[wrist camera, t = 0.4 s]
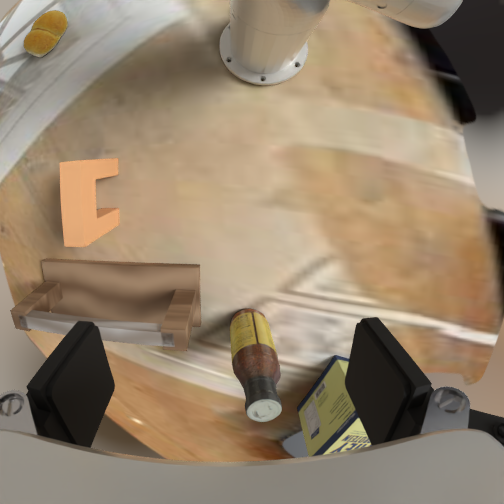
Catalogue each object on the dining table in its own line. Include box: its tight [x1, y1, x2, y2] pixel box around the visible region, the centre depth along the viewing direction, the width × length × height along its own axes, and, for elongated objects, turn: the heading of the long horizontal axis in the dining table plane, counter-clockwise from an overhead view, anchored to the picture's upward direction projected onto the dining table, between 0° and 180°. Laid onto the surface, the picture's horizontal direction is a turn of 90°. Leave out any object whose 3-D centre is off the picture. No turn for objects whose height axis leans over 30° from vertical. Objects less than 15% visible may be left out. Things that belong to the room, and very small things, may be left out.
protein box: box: [297, 355, 372, 457], centre depth 48 cm, size 10×16×16 cm
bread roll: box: [24, 10, 68, 57], centre depth 30 cm, size 8×9×4 cm
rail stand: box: [10, 259, 201, 351], centre depth 40 cm, size 10×28×13 cm, turn 87°
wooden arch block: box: [60, 158, 119, 247], centre depth 35 cm, size 10×3×12 cm, turn 177°
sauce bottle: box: [230, 309, 282, 422], centre depth 39 cm, size 6×6×20 cm
